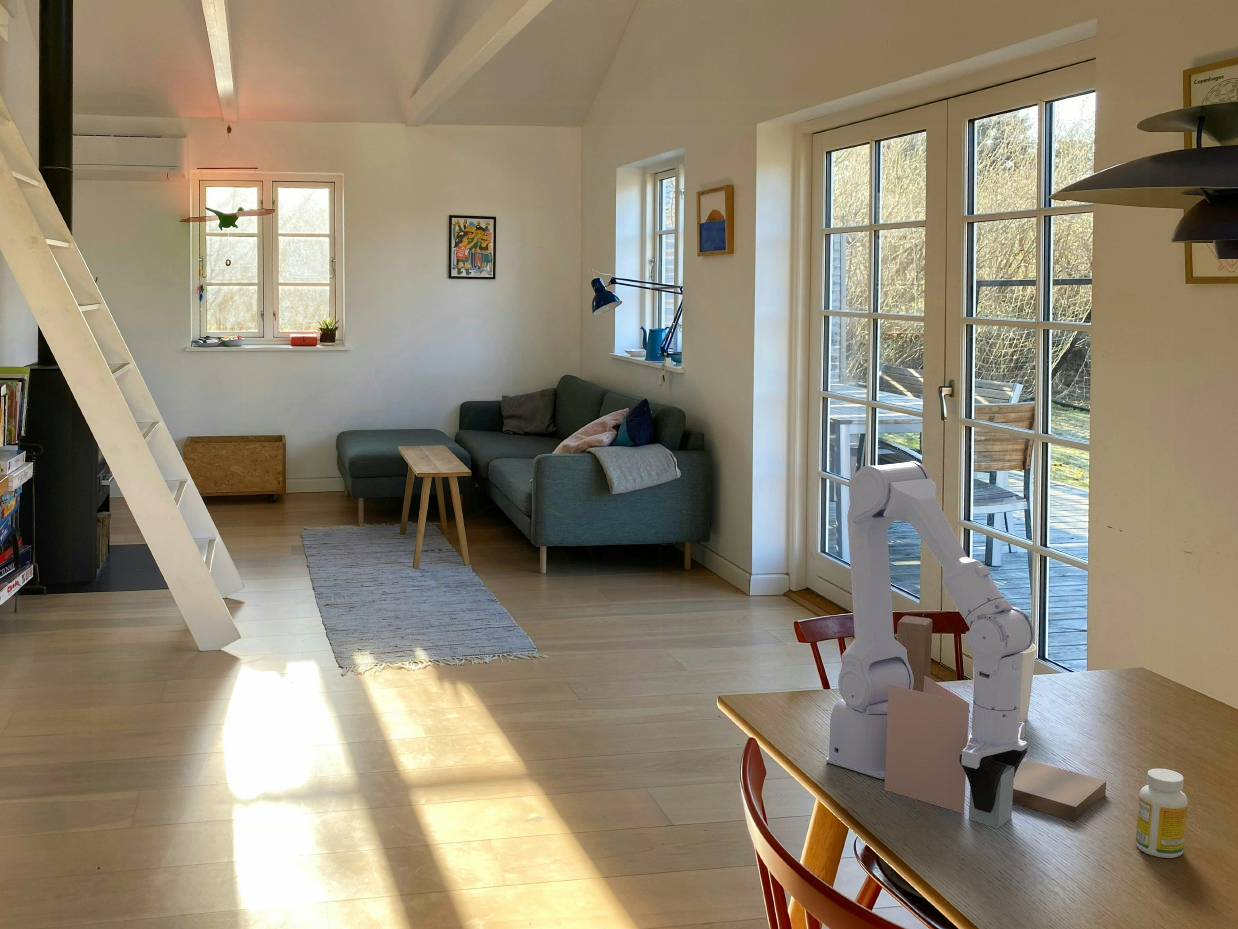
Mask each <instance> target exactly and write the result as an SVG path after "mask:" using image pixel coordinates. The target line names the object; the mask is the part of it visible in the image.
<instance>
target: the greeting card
mask: <svg viewBox="0 0 1238 929" xmlns="http://www.w3.org/2000/svg"><path fill="white" fill-rule="evenodd" d="M970 704H971V703H970V702H968V701H967V700H965V699H964V698H962V697H960V696H959V695H957V694H955V693H953V692H952V691H951V690H949V689H947V688H945V687H944V686H942V685H941V684H939V683H937V682H936V681H934V680H933V679H931V678H930V679H929V678H928V677H926V676H924V692H920V691H916V690H912V689H907V688H903V687H899V686H895V685H891V684H889V689H888V714H887V738H886V763H885V779H884V789H886V791H887V790H888V792H891V791H892V792H891V793H894V792H895V794H897V793H898V795H901V794H902V795H901V796H905V797H907V798H911V799H914V800H918V801H921V802H923V803H927V804H931V805H935V806H938V807H940V808H944V809H948V810H951V811H954V812H957V813H960V814H961V813H962V814H965V801H966V800H965V799H966V784H967V783H966V782H967V781H966V780H967V779H966V778H967V775H966V773H965V771H964V769H963V767H962V765H961V764H960V754H962V750H963V749H965V747H966V745H967V742H968V738H969V721H970V712H971V710H970Z"/></svg>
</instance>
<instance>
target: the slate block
mask: <svg viewBox="0 0 1238 929" xmlns="http://www.w3.org/2000/svg"><path fill="white" fill-rule="evenodd" d="M994 762H996V761H994ZM998 763H1000V762H998ZM1001 764H1003V763H1001ZM1005 765H1007V764H1005ZM1013 782H1014V766H1010V765H1007V767H1006V768H1005V770H1004V772H1003V774H1002V776H1001V778H1000V781H999V784H998V787H997V792H996V798H995V803H994V806H993V809H992V811H991V812H990V813H987V812H984V811H981V810H978V809H975V807H974V803H973V798H972V793H971V789H970V788H969V789H970V790H969V803H968V804H969V806H968V807H969V808H968V819H969V820H971V821H974V822H978V823H981V824H984V825H987V826H990V827H993V828H996V829H999V828H1001V827H1002V826H1003V825H1004V824H1006V823H1007V822H1008V821H1010V820H1011V819H1012V813H1013V803H1012V800H1013Z"/></svg>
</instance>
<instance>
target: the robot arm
mask: <svg viewBox="0 0 1238 929" xmlns="http://www.w3.org/2000/svg"><path fill="white" fill-rule="evenodd" d="M848 494H849V495H848V496H849V507H848V511H847V519H846V520H847V533H848V536H847V537H848V549H849V563H850V564H849V565H850V569H849V570H850V581H851V582H850V583H851V596H852V597H851V598H852V611H853V612H852V613H853V614H852V615H853V616H852V617H853V627H854V628H853V629H854V640H853V641H852V642H851V643H850V644H849V646H848V647H847V648H846V649H845V650H844V652H843V653H842V654H841V656H840V658H841V659H840V660H841V667H840V671H839V674H838V680H837V683H838V684H837V685H838V691H839V694H840V696H841V698H840V699H838V700H837V701H836V703H834V706H833V708H832V711H831V715H830V720H829V742H828V743H829V746H828V749H829V750H828V757H826V759H825V762H826V763H828V764H832V765H835V766H839V767H842V768H845V769H846V770H847V769H848V770H851V771H854V772H857V773H860V774H864V775H867V776H870V777H874V778H877V779H880V780H885V763H886V738H887V714H888V689H889V684H891V685H895V686H899V687H903V688H907V689H912V688H913V684H914V678H913V673H912V670H911V668H910V665H909V663H908V659H907V650H906V648H905V647H904V646H902V645H901V644H900V643H899V642H898V641H897V639H896V638H895V630H894V615H893V614H894V613H893V600H892V596H893V595H892V584H891V582H892V581H891V568H890V552H889V551H890V550H889V548H890V547H889V534H888V533H889V532H888V529H889V528H890V527H891V526H892V525H893V523H895V522H896V521H900V522H903V523H908V524H910V525H911V526H912V527H913V529H914V531H915V532H916V533H917V534H918V536H919V538H920V539H921V540H922V541H923V543H924V544H925V546H926V547H927V548H928V550H929V551H930V553H931V554H932V555H933V557H934V558H935V560H936V561H937V562H938V564H939V565H940V566H941V567H942V569H943V575H942V580H941V584H942V586H943V588H944V589H945V591H946V592H947V594H948V595H949V598H950V599H951V600H952V602H953V604H954V605H955V608H957V610H958V612H959V613H960V615H961V617H962V618H963V619H964V621H965V623H966V625H967V626H968V628H969V630H967V631H965V638H966V644H967V646H968V648H969V649H970V651H971V654H972V666H973V665H974V668H975V676H974V695H973V694H972V713H971V731H970V732H969V733H968V742H967V745H966V747H965V749H963V750H962V754H960V764H961V765H962V767H963V769H964V771H965V773H966V778H967V781H968V783H969V784H968V785H969V787H970V788H969V789H971V793H972V798H973V803H974V807H975V809H978V810H981V811H984V812H987V813H990V812H991V811H992V809H993V806H994V803H995V798H996V792H997V787H998V784H999V781H1000V778H1001V776H1002V774H1003V772H1004V770H1005V768H1006V767H1007V765H1010V766H1014V777H1015V774H1016V771H1017V769H1018V767H1019V765H1020V764H1021V763H1022V761H1023V759H1024V758H1025V757H1026V756H1027V754H1028V742H1027V741H1025V740H1023V738H1024V737H1025V733H1026V732H1025V730H1026V722H1023V723H1022V722H1019V714H1020V698H1021V681H1022V664H1023V653H1021V652H1023V651H1026V650H1027V649H1028V648H1029V647H1030V646H1031V645H1032V643H1033V642H1034V639H1035V630H1034V626H1033V624H1032V621H1031V619H1030V617H1029V614H1027V613H1026V611H1024V610H1022V608H1019V607H1015V606H1014V605H1013V604H1012V603H1011V601H1009V600H1007V599H1006V598H1005V596H1004V595H1003V594H1002V592H1001V591H1000V589H999V588H998V586H997V584H996V583H995V581H994V580H993V578H992V577H991V574H992V573H991V571H990V569H989V568H988V566H987V565H984V564H983V562H982V561H980V560H978V559H975V558H971V557H969V556H968V555H967V554H966V551H965V550H964V548H963V546H962V544H961V543H960V541H959V539H958V537H957V535H956V533H955V531H954V530H953V527H952V526H951V524H950V523H949V521H948V518H947V516H946V515H945V513H944V511H943V510H942V508H941V506H940V504H939V502H938V500H937V485H936V482H934V480H933V479H932V478H931V477H930V474H929V471H928V470H927V468H926V467H925V466H924V465H923V464H922V463H920V462H918V461H915V460H910V461H909V460H908V461H906V462H900V463H890V464H889V463H888V464H883V465H882V464H880V465H865V466H862V467H860V469H858V470H857V471H856V472H855V474H854V475H852V476H851V478H850V479H849V480H848ZM1018 653H1020V654H1018ZM994 761H996V762H994ZM998 762H1000V763H998ZM1001 763H1003V764H1001ZM1005 764H1007V765H1005Z"/></svg>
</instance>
